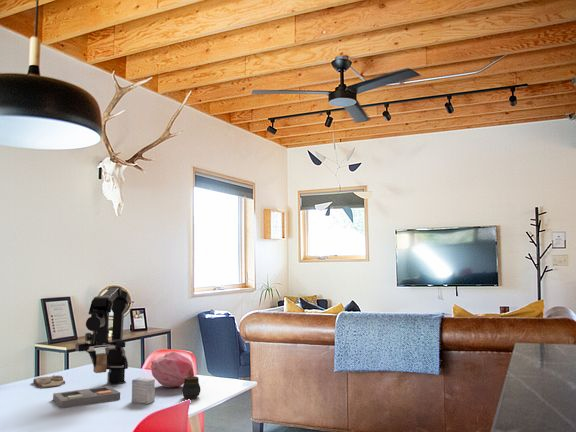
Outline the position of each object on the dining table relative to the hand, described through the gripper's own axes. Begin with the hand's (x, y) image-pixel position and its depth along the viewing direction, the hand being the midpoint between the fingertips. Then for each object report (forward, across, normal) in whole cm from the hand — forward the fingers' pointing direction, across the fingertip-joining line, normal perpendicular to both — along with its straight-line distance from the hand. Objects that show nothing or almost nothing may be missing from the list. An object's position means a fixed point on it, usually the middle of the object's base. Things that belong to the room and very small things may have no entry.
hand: (100, 366), depth 217 cm
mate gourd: (+12, -30, +23) cm, 39 cm away
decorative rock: (+12, -31, +2) cm, 33 cm away
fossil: (+12, +12, -35) cm, 39 cm away
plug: (+2, 0, 0) cm, 2 cm away
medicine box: (+12, -12, +18) cm, 25 cm away
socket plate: (+12, +5, +2) cm, 13 cm away
